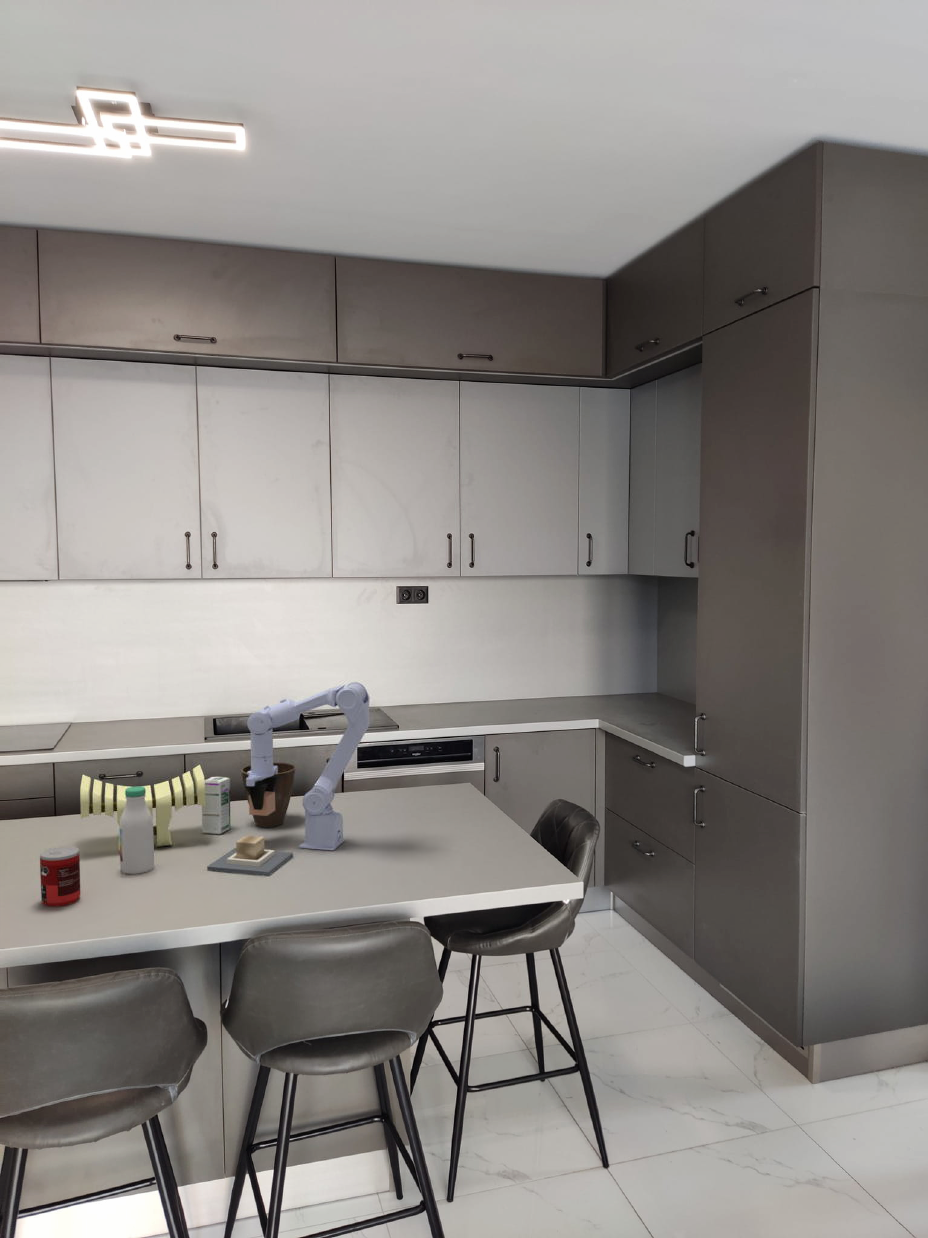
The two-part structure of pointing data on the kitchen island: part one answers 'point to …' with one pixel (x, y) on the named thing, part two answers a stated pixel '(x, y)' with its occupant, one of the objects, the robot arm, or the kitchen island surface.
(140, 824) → the milk bottle
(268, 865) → the slate baseplate
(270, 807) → the terracotta block
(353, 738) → the robot arm
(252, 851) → the oak block
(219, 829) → the syrup box
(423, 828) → the kitchen island surface
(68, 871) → the canned food
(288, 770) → the plant pot
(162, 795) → the slatted curved stool
